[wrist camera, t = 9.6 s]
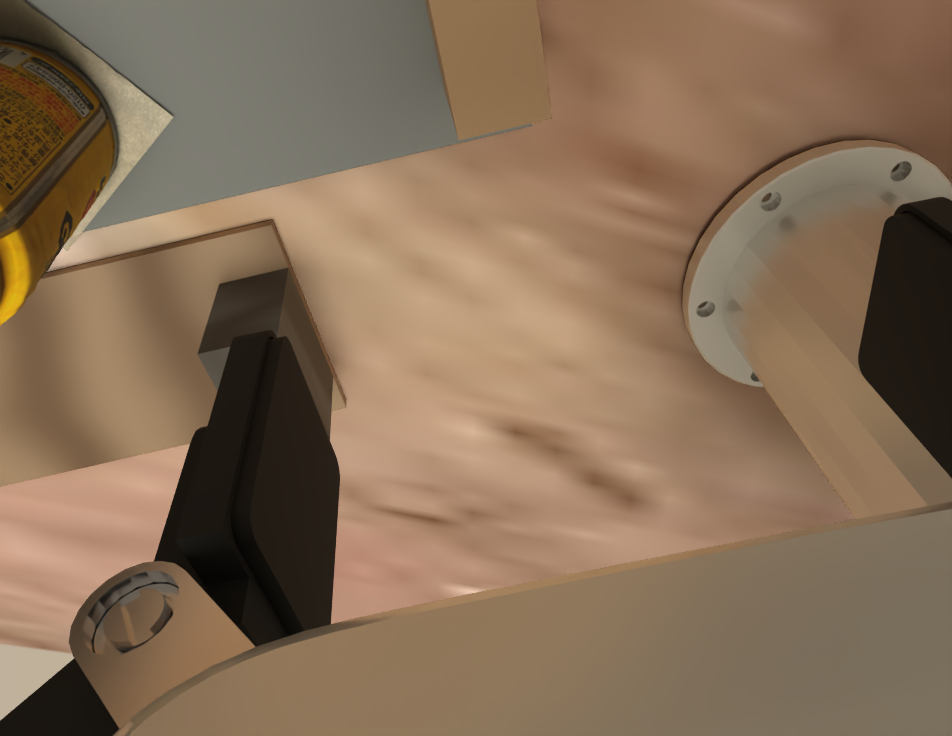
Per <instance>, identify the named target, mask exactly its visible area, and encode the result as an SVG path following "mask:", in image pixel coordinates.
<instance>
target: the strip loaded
mask: <svg viewBox="0 0 952 736" xmlns="http://www.w3.org/2000/svg"><path fill="white" fill-rule="evenodd" d="M23 1H24V2H25V3H26V4H28V5H29V6H30V7H31V8H33V9H34V10H36V11H37V12H38V13H40V14H41V15H43V16H44V17H46V18H47V19H49V20H50V21H52V22H53V23H54V24H55V25H56V26H57V27H59V28H60V29H62V30H63V31H64V32H66V33H67V34H68V35H70V36H71V37H73V38H74V39H75V40H77V41H78V42H79V43H80V44H81V45H82V46H83V47H85V48H87V49H88V50H90V51H91V52H92V53H94V54H95V55H96V56H97V57H99V58H100V59H101V60H102V61H104V62H105V63H106V64H107V65H109V66H110V67H111V68H112V69H113V70H114V71H115V72H117V73H118V74H120V75H121V76H123V77H124V78H125V79H127V80H128V81H129V82H130V83H132V84H133V85H134V86H135V87H136V88H138V89H139V90H140V91H141V92H143V93H144V94H145V95H146V96H148V97H149V98H150V99H151V100H153V101H154V102H155V103H156V104H158V105H159V106H160V107H161V108H163V109H164V110H165V111H166V112H168V113H169V114H170V115H172V116H173V118H172V120H171V121H170V122H169V123H168V125H167V126H166V127H165V129H164V130H163V131H162V132H161V134H160V135H159V136H158V137H157V139H156V140H155V141H154V142H153V144H152V145H151V146H150V147H149V148H148V150H147V151H146V153H145V154H144V155H143V156H142V157H141V159H140V160H139V161H138V162H137V164H136V165H135V166H134V167H133V169H132V170H131V171H130V172H129V174H128V175H127V176H126V177H125V179H124V180H123V181H122V182H121V184H120V185H119V186H118V187H117V189H116V190H115V191H114V192H113V194H112V195H111V196H110V197H109V199H108V200H107V201H106V203H105V204H104V205H103V206H102V208H101V209H100V210H99V211H98V213H97V214H96V215H95V216H94V218H93V219H92V220H91V221H90V223H89V224H88V225H87V226H86V228H85V230H83V232H85V231H89V230H93V229H98V228H102V227H106V226H110V225H114V224H119V223H123V222H127V221H131V220H136V219H140V218H144V217H148V216H153V215H157V214H161V213H165V212H170V211H174V210H178V209H182V208H186V207H191V206H195V205H199V204H203V203H208V202H212V201H216V200H220V199H225V198H229V197H233V196H237V195H242V194H246V193H250V192H254V191H258V190H263V189H267V188H271V187H275V186H280V185H284V184H288V183H292V182H297V181H301V180H305V179H309V178H314V177H318V176H322V175H326V174H330V173H335V172H339V171H343V170H347V169H352V168H356V167H360V166H364V165H369V164H373V163H377V162H381V161H385V160H390V159H394V158H398V157H402V156H407V155H411V154H415V153H419V152H424V151H428V150H432V149H436V148H441V147H445V146H449V145H453V144H457V143H462V142H466V141H470V140H474V139H479V138H483V137H487V136H491V135H496V134H500V133H504V132H508V131H513V130H517V129H521V128H525V127H529V126H532V123H535V122H539V121H543V120H547V119H551V118H552V115H551V107H550V99H549V91H548V83H547V76H546V68H545V60H544V52H543V44H542V36H541V29H540V21H539V13H538V5H537V0H23Z"/></svg>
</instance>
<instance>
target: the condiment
mask: <svg viewBox="0 0 952 736" xmlns="http://www.w3.org/2000/svg"><path fill="white" fill-rule="evenodd" d="M172 118H173V116H172V115H170V114H169V113H168V112H166V111H165V110H164V109H163V108H161V107H160V106H159V105H158V104H156V103H155V102H154V101H153V100H151V99H150V98H149V97H148V96H146V95H145V94H144V93H143V92H141V91H140V90H139V89H138V88H136V87H135V86H134V85H133V84H132V83H130V82H129V81H128V80H127V79H125V78H124V77H123V76H121V75H120V74H118V73H117V72H115V71H114V70H113V69H112V68H111V67H110V66H109V65H107V64H106V63H105V62H104V61H102V60H101V59H100V58H99V57H97V56H96V55H95V54H94V53H92V52H91V51H90V50H88V49H87V48H85V47H83V46H82V45H81V44H80V43H79V42H78V41H77V40H75V39H74V38H73V37H71V36H70V35H68V34H67V33H66V32H64V31H63V30H62V29H60V28H59V27H57V26H56V25H55V24H54V23H53V22H52V21H50V20H49V19H47V18H46V17H44V16H43V15H41V14H40V13H38V12H37V11H36V10H34V9H33V8H31V7H30V6H29V5H28V4H26V3H25V2H24V1H23V0H0V326H1V325H2V324H3V323H4V322H6V321H7V320H8V319H9V318H11V317H12V316H13V315H14V314H16V312H17V311H18V310H19V309H20V308H22V307H23V305H24V303H25V301H26V300H27V298H28V297H29V296H30V295H31V294H32V293H33V292H34V290H35V288H36V286H37V283H38V282H39V280H40V279H41V277H42V276H43V275H44V274H45V272H46V271H47V270H48V269H49V268H50V266H51V264H52V262H53V261H54V260H55V258H56V256H57V255H58V254H59V252H60V250H61V249H62V247H63V248H64V249H65V250H68V249H69V248H70V247H71V245H72V244H73V243H74V242H75V240H76V239H77V238H78V237H79V235H80V234H81V233H82V232H83V230H85V228H86V226H87V225H88V224H89V223H90V221H91V220H92V219H93V218H94V216H95V215H96V214H97V213H98V211H99V210H100V209H101V208H102V206H103V205H104V204H105V203H106V201H107V200H108V199H109V197H110V196H111V195H112V194H113V192H114V191H115V190H116V189H117V187H118V186H119V185H120V184H121V182H122V181H123V180H124V179H125V177H126V176H127V175H128V174H129V172H130V171H131V170H132V169H133V167H134V166H135V165H136V164H137V162H138V161H139V160H140V159H141V157H142V156H143V155H144V154H145V153H146V151H147V150H148V148H149V147H150V146H151V145H152V144H153V142H154V141H155V140H156V139H157V137H158V136H159V135H160V134H161V132H162V131H163V130H164V129H165V127H166V126H167V125H168V123H169V122H170V121H171V120H172Z"/></svg>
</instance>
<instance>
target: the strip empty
mask: <svg viewBox="0 0 952 736" xmlns="http://www.w3.org/2000/svg"><path fill="white" fill-rule="evenodd" d="M265 330H272V331H273V332H274V333H275V335H276V337H277V338H278V337H283V336H286V337H287V338H288V339H289V340H290V343H291V345H292V347H293V350H294V352H295V355H296V357H297V360H298V362H299V365H300V367H301V370H302V372H303V375H304V377H305V380H306V382H307V385H308V387H309V390H310V393H311V395H312V398H313V400H314V403H315V405H316V408H317V410H318V413H319V415H320V418H321V420H322V423H323V425H324V428H325V430H326V433H327V435H328V438H329V440H330V426H331V411H334V410H339V409H343V408H346V399H345V397H344V394H343V392H342V389H341V387H340V384H339V382H338V379H337V377H336V374H335V372H334V370H333V367H332V365H331V362H330V360H329V357H328V355H327V352H326V350H325V347H324V345H323V342H322V340H321V338H320V335H319V333H318V330H317V328H316V325H315V323H314V320H313V318H312V315H311V313H310V310H309V308H308V306H307V303H306V301H305V298H304V296H303V293H302V291H301V288H300V286H299V283H298V281H297V278H296V276H295V274H294V271H293V269H292V266H291V264H290V261H289V259H288V256H287V254H286V251H285V249H284V247H283V244H282V242H281V239H280V237H279V234H278V232H277V229H276V227H275V224H274V222H273V220H269V221H264V222H260V223H256V224H252V225H247V226H243V227H239V228H235V229H230V230H226V231H222V232H218V233H213V234H209V235H205V236H200V237H196V238H192V239H188V240H183V241H179V242H175V243H171V244H166V245H162V246H158V247H154V248H149V249H145V250H141V251H137V252H132V253H128V254H124V255H120V256H115V257H111V258H107V259H103V260H98V261H94V262H90V263H86V264H81V265H77V266H73V267H69V268H64V269H60V270H56V271H52V272H47V273H45V274H44V275H43V276H42V277H41V279H40V280H39V282H38V283H37V286H36V288H35V290H34V292H33V293H32V294H31V295H30V296H29V297H28V298H27V300H26V301H25V303H24V305H23V307H22V308H20V309H19V310H18V311H17V312H16V314H14V315H13V316H12V317H11V318H9V319H8V320H7V321H6V322H4V323H3V324H2V325H1V326H0V487H1V486H6V485H10V484H15V483H19V482H23V481H28V480H32V479H37V478H41V477H45V476H50V475H54V474H58V473H63V472H67V471H72V470H76V469H80V468H85V467H89V466H93V465H98V464H102V463H107V462H111V461H115V460H120V459H124V458H128V457H133V456H137V455H142V454H146V453H150V452H155V451H159V450H163V449H168V448H172V447H177V446H181V445H185V444H190V443H191V440H192V437H193V435H194V433H195V431H196V430H198V429H199V428H200V427H205V426H208V422H209V419H210V415H211V412H212V408H213V405H214V401H215V398H216V395H217V391H218V388H219V384H220V381H221V377H222V374H223V370H224V367H225V364H226V360H227V357H228V353H229V350H230V346H231V343H232V340H233V338H234V337H236V336H240V335H245V334H250V333H255V332H260V331H265Z"/></svg>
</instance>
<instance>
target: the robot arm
mask: <svg viewBox="0 0 952 736" xmlns="http://www.w3.org/2000/svg"><path fill="white" fill-rule="evenodd" d="M682 309H683V314H684V319H685V324H686V328H687V330H688V332H689V334H690V336H691V338H692V340H693V343H694V344H695V346H696V347H697V349H698V350H699V352H700V353H701V355H702V356H703V358H704V359H705V361H707V362H708V363H709V364H710V365H711V366H712V367H713V368H714V369H716V370H717V371H718V372H719V373H721V374H723V375H725V376H726V377H728V378H730V379H732V380H734V381H736V382H739V383H743V384H746V385H750V386H754V387H764V388H765V389H766V390H767V392H768V393H769V395H770V396H771V398H772V399H773V401H774V402H775V403H776V405H777V406H778V408H779V409H780V411H781V412H782V414H783V415H784V416H785V418H786V419H787V421H788V422H789V424H790V425H791V427H792V428H793V429H794V431H795V432H796V434H797V435H798V437H799V438H800V440H801V441H802V442H803V444H804V445H805V447H806V448H807V450H808V451H809V453H810V454H811V455H812V457H813V458H814V460H815V461H816V463H817V464H818V466H819V467H820V468H821V470H822V471H823V473H824V474H825V476H826V477H827V479H828V480H829V481H830V483H831V484H832V486H833V487H834V489H835V490H836V492H837V493H838V494H839V496H840V497H841V499H842V500H843V502H844V503H845V505H846V506H847V507H848V509H849V510H850V512H851V513H852V515H853V516H854V518H855V520H849V521H844V522H839V523H834V524H828V525H823V526H818V527H813V528H807V529H802V530H797V531H792V532H786V533H781V534H776V535H771V536H765V537H760V538H755V539H749V540H744V541H739V542H734V543H729V544H723V545H718V546H713V547H708V548H703V549H697V550H692V551H687V552H682V553H676V554H671V555H666V556H661V557H656V558H650V559H645V560H640V561H635V562H630V563H625V564H620V565H615V566H609V567H604V568H599V569H594V570H589V571H584V572H579V573H574V574H569V575H564V576H559V577H554V578H548V579H543V580H538V581H533V582H528V583H523V584H518V585H513V586H508V587H503V588H498V589H492V590H487V591H482V592H477V593H472V594H467V595H462V596H458V597H453V598H448V599H444V600H439V601H434V602H429V603H425V604H420V605H415V606H411V607H406V608H401V609H396V610H392V611H387V612H382V613H378V614H373V615H368V616H364V617H359V618H355V619H351V620H347V621H343V622H339V623H335V624H331V611H332V595H333V580H334V564H335V548H336V533H337V517H338V501H339V486H340V473H339V466H338V462H337V458H336V455H335V453H334V450H333V448H332V445H331V443H330V440H329V438H328V435H327V433H326V430H325V428H324V425H323V423H322V420H321V418H320V415H319V413H318V410H317V408H316V405H315V403H314V400H313V398H312V395H311V393H310V390H309V387H308V385H307V382H306V380H305V377H304V375H303V372H302V370H301V367H300V365H299V362H298V360H297V357H296V355H295V352H294V350H293V347H292V345H291V343H290V340H289V339H288V338H287V337H286V336H283V337H278V338H277V337H276V335H275V333H274V332H273V331H272V330H265V331H260V332H255V333H250V334H245V335H240V336H236V337H234V338H233V340H232V343H231V346H230V350H229V353H228V357H227V360H226V364H225V367H224V370H223V374H222V377H221V381H220V384H219V388H218V391H217V395H216V398H215V401H214V405H213V408H212V412H211V415H210V419H209V422H208V426H205V427H200V428H199V429H198V430H196V431H195V433H194V435H193V437H192V440H191V443H190V446H189V450H188V453H187V456H186V459H185V463H184V466H183V469H182V472H181V475H180V479H179V482H178V485H177V488H176V492H175V495H174V498H173V501H172V505H171V508H170V511H169V514H168V518H167V521H166V524H165V527H164V531H163V534H162V537H161V540H160V543H159V547H158V550H157V553H156V556H155V560H154V562H146V563H141V564H139V565H136V566H133V567H130V568H128V569H125V570H123V571H122V572H120V573H118V574H117V575H115V576H113V577H112V578H110V579H108V580H107V581H106V582H105V583H103V584H102V585H101V586H100V587H99V588H98V589H97V590H95V591H94V592H93V593H92V594H91V595H90V596H89V598H88V599H87V600H86V601H85V603H84V604H83V605H82V607H81V608H80V609H79V611H78V613H77V615H76V617H75V619H74V621H73V624H72V626H71V631H70V638H69V644H70V647H71V651H72V654H73V656H74V659H73V660H72V661H71V662H70V663H68V664H67V665H66V666H65V667H64V668H62V669H61V670H60V671H59V672H58V673H56V674H55V675H54V676H53V677H52V678H51V679H49V680H48V681H47V682H46V683H45V684H43V685H42V686H41V687H40V688H39V689H37V690H36V691H35V692H34V693H33V694H32V695H30V696H29V697H28V698H27V699H26V700H24V701H23V702H22V703H21V704H20V705H18V706H17V707H16V708H15V709H14V710H12V711H11V712H10V713H9V714H8V715H7V716H5V717H4V718H3V719H2V720H1V721H0V736H952V184H951V182H950V181H949V180H948V179H947V178H946V176H945V175H944V174H943V173H942V172H941V171H940V170H939V169H938V167H937V166H935V165H934V164H932V163H931V162H929V161H928V160H926V159H925V158H923V157H922V156H920V155H919V154H917V153H915V152H913V151H911V150H908V149H906V148H904V147H902V146H899V145H897V144H894V143H888V142H882V141H875V140H854V141H841V142H837V143H833V144H828V145H824V146H820V147H815V148H813V149H810V150H808V151H805V152H803V153H801V154H798V155H796V156H793V157H791V158H788V159H786V160H784V161H783V162H781V163H779V164H778V165H776V166H774V167H773V168H771V169H769V170H768V171H766V172H764V173H763V174H761V175H759V176H758V177H757V178H756V179H755V180H753V181H752V182H751V183H750V184H748V185H747V186H746V187H745V188H743V189H742V190H741V191H740V192H739V193H737V194H736V195H735V196H734V197H733V198H732V199H731V200H730V202H729V203H728V204H727V205H726V206H725V207H724V208H723V209H722V210H721V211H720V212H719V213H718V215H717V216H716V217H715V218H714V220H713V221H712V223H711V224H710V226H709V227H708V229H707V230H706V231H705V233H704V234H703V236H702V237H701V239H700V241H699V243H698V245H697V247H696V249H695V251H694V254H693V256H692V258H691V260H690V262H689V265H688V269H687V273H686V277H685V281H684V285H683V302H682Z"/></svg>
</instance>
